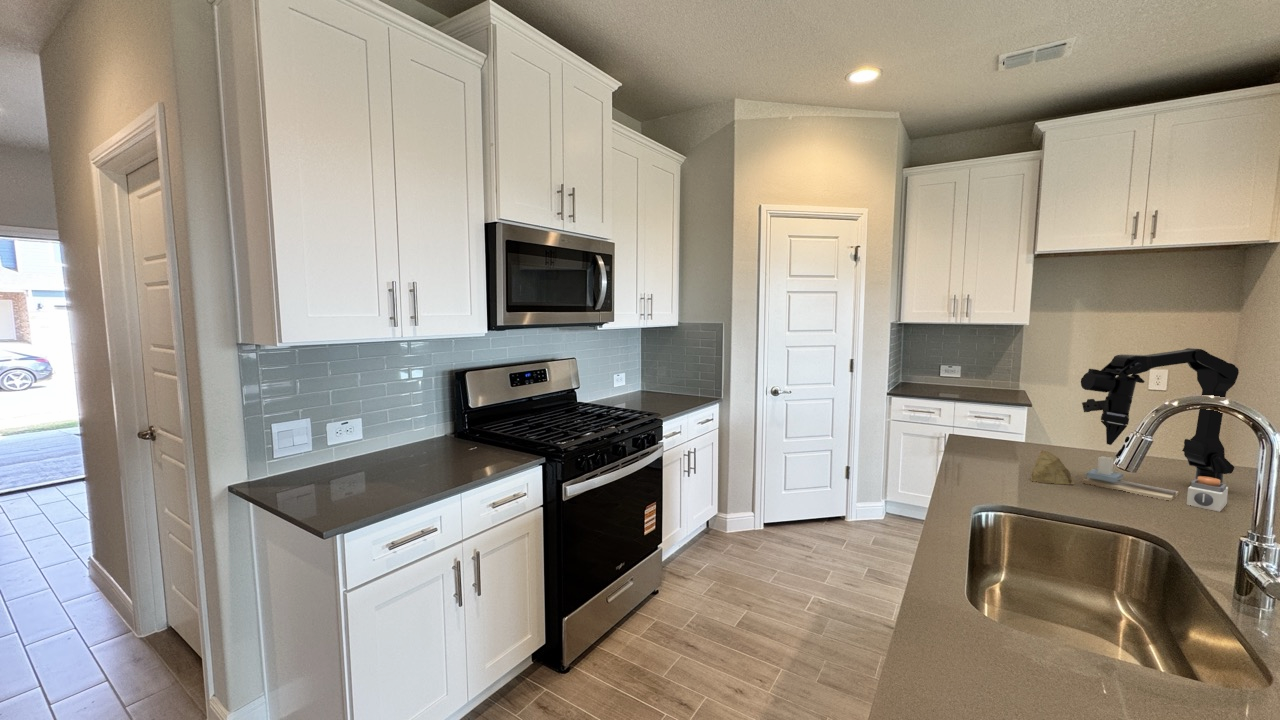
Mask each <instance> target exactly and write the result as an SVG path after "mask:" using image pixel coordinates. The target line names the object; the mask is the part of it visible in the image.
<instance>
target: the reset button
mask: <svg viewBox="0 0 1280 720" xmlns="http://www.w3.org/2000/svg"><path fill="white" fill-rule="evenodd" d="M1220 481H1221V480H1219V479H1216V478H1212V477H1205V476H1198V479H1197V482H1198V483H1201V484H1205V485H1211V486H1220Z"/></svg>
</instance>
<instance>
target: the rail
mask: <svg viewBox="0 0 1280 720" xmlns="http://www.w3.org/2000/svg"><path fill="white" fill-rule="evenodd" d="M1086 477H1087V476H1086ZM1082 483H1083V484H1084V483H1085V484H1086V485H1089V484H1091V485H1090V486H1094V485H1096V486H1095V487H1099V486H1101V487H1100V488H1103V487H1107V488H1106V489H1108V488H1113V489H1118V490H1123V491H1126V492H1125V493H1127V492H1130V493H1129V494H1132V493H1135V494H1134V495H1137V494H1139V495H1138V496H1142V495H1143V497H1147V496H1148V497H1147V498H1151V497H1153V498H1152V499H1156V498H1158V500H1161V499H1164V500H1163V501H1166V500H1169V501H1168V502H1172V501H1173V500H1174V499H1175V498H1177V497H1178V496H1179V494H1180V493H1179V491H1178V490H1174V489H1168V488H1163V487H1157V486H1152V485H1148V484H1143V483H1137V482H1133V481H1128V480H1123V479H1120V480H1119V481H1117V482H1110V481H1105V480H1100V479H1095V478H1090V477H1087V478H1085V479H1083V481H1082ZM1113 489H1112V490H1113ZM1118 490H1117V491H1118ZM1123 491H1122V492H1123ZM1173 498H1174V499H1173ZM1172 499H1173V500H1172Z"/></svg>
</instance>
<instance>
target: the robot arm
mask: <svg viewBox="0 0 1280 720" xmlns="http://www.w3.org/2000/svg"><path fill="white" fill-rule="evenodd" d="M1183 364H1187V365H1188V367H1189V368H1190V369H1192V370H1193V371H1195V372H1196V380H1197V382H1198V384H1199V386H1200V388H1201V396H1202V395H1214V396H1220V397H1225V398H1226V396H1227V392H1228V391H1229V390H1230V389H1231V388H1232V387H1233V386H1234V385H1236V381H1237V379H1238V377H1239V373H1240V370H1239V368H1238V367H1237V366H1236V365H1235V364H1233V363H1230V362H1227V361H1226V360H1225V359H1222V358H1220V357H1217V356H1215V355H1213V354H1210V352H1208V351H1206V350H1204V349H1202V348H1193V347H1192V348H1191V347H1188V348H1184V349H1180V350H1172V351H1171V350H1170V351H1164V352H1158V353H1150V354H1117V355H1116V354H1115V356H1113V358H1111V361H1110V362H1109V363H1108V364H1106V365H1105V366H1104V367H1103V368H1102V369H1101V370H1099V369H1095V368H1088V371H1087V372H1086V373H1085V374H1084V375H1083V376H1082V377H1081V379H1080V386H1081V387H1082V389H1083V390H1084V391H1086V390H1087V391H1092V392H1099V393H1107V396H1105V399H1102V400H1101V399H1100V400H1096V399H1094V398H1087V400H1086V401H1084V402H1083V401H1081V407H1082V409H1083V413H1090V412H1095V411H1096V412H1097V411H1098V412H1099V411H1102V413H1101V416H1100V422H1101V424H1103V426H1104V427H1105V432H1106V433H1105V434H1106V436H1105V437H1106V445H1109V446H1111V445H1113V444H1114V442H1116V440H1117V438H1119V437H1120V435H1121V434H1122V433H1123V431H1124V430H1125V429H1126V428H1127V427H1128V425H1129V423H1130V422H1129V421H1130V418H1129V417H1130V415H1129V414H1130V410H1131V407H1132V406H1131V405H1132V403H1133V398H1134V393H1135V389H1136V384H1137V383H1138V384H1139V383H1141V384H1144V383H1145V380H1144V378H1142V377H1141V376H1140V374H1142V373H1146V372H1148V371H1150V370H1152V369H1154V368H1158V367H1159V368H1160V367H1168V366H1175V365H1183ZM1199 409H1200V408H1199ZM1223 414H1224V412H1223V413H1220V412H1218V411H1214V410H1206V409H1200V410H1198V416H1197V422H1196V428H1195V434H1194V435H1193V436H1192V437H1191V438H1190V439H1188V438H1185V439H1184V441H1183V444H1184V445H1183V448H1182V451H1181V452H1183V455H1184V457H1185V458H1186V459H1187V462H1188V465H1189V466H1191V467H1195V468H1196V470H1195V478H1194V479H1198V476H1205V477H1212V478H1216V479H1219V480H1221V481H1220V483H1222V484H1224V483H1223V482H1224V475H1227V474H1229V475H1230V474H1233V472H1234V470H1235V466H1234V465H1233V464H1232V463H1231V462H1230V461H1229V460H1228V459H1227V458H1226V457H1225V451H1226V450H1225V446H1224V445H1223V443H1222V441H1221V439H1220V433H1221V428H1222V423H1223V422H1222V421H1223Z"/></svg>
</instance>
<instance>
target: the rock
mask: <svg viewBox="0 0 1280 720" xmlns="http://www.w3.org/2000/svg"><path fill="white" fill-rule="evenodd" d="M1032 469H1033V470H1032V474H1031V478H1030V482H1032V481H1033V482H1036V481H1037V482H1036V483H1041V482H1044V483H1043V484H1051V483H1054V485H1055V484H1056V485H1074V479H1073V477H1072V475H1071V474H1072V473H1071V471H1070V470H1069V469H1068V468H1067V467H1066V466H1065V464H1064V463H1063V462H1062V461H1061V459H1060V458H1059V457H1058V456H1056V455H1055V454H1053V453H1052V452H1050V451H1049V450H1048V451H1047V450H1041V452H1040V453H1039V455H1038V458H1037V460H1036V463H1035V465H1034V467H1033V468H1032Z"/></svg>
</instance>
